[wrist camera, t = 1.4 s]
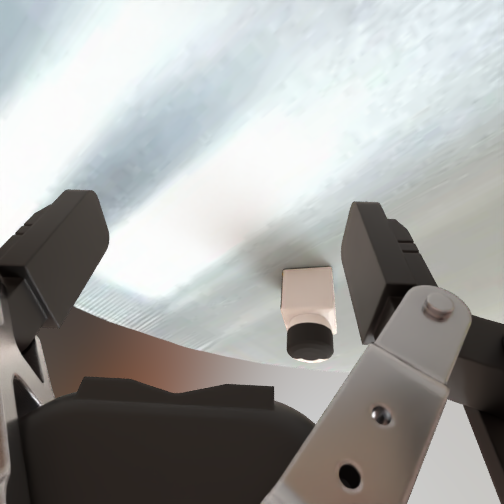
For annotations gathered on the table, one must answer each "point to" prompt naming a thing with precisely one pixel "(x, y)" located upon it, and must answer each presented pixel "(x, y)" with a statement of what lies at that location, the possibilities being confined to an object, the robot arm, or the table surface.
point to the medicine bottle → (309, 313)
